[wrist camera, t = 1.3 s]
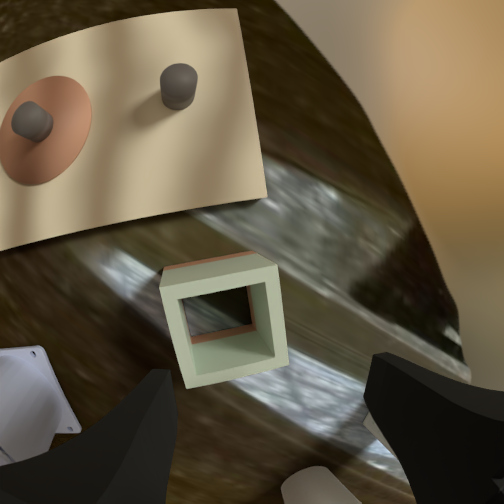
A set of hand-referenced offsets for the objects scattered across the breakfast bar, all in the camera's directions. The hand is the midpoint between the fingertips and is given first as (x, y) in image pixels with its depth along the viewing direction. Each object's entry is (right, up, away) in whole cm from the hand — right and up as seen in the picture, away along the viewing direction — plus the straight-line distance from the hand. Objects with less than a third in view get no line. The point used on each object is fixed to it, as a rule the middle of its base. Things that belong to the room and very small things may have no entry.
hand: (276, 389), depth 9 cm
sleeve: (-3, +2, +9) cm, 10 cm away
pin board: (-10, +13, +6) cm, 18 cm away
